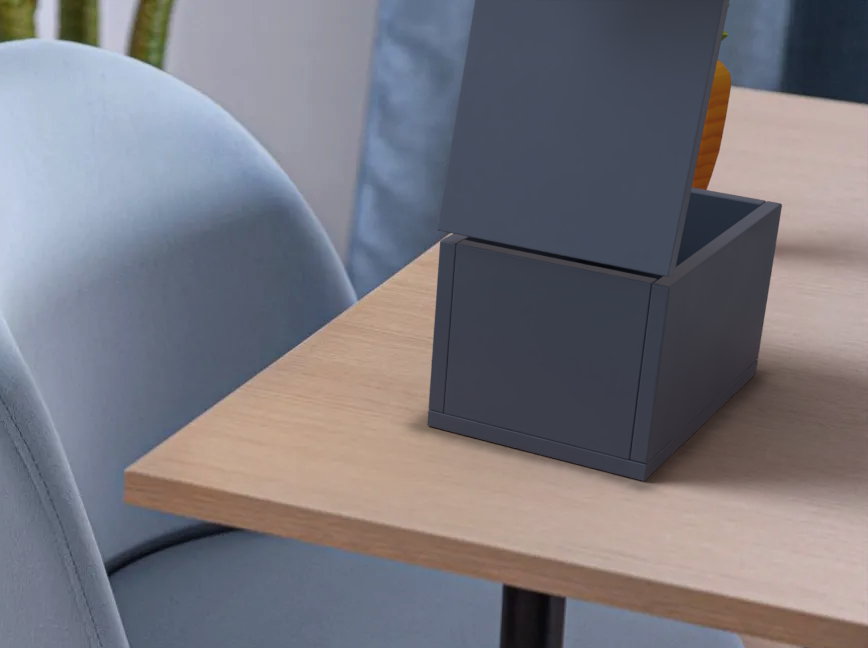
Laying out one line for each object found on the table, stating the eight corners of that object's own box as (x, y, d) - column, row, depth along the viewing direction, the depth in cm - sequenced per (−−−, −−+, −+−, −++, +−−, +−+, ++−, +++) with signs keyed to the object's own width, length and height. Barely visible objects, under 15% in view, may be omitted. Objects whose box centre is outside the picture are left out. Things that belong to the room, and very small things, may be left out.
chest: (561, 331, 93) (578, 166, 89) (756, 374, 89) (782, 203, 85) (426, 425, 81) (439, 240, 77) (644, 481, 76) (669, 287, 72)
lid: (510, -169, 73) (456, -195, 68) (759, -147, 68) (719, -172, 64) (444, 230, 77) (388, 231, 72) (674, 276, 73) (630, 281, 68)
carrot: (612, 236, 109) (641, -15, 102) (682, 230, 111) (714, -16, 104) (653, 260, 105) (685, 0, 98) (724, 254, 107) (761, -1, 100)
